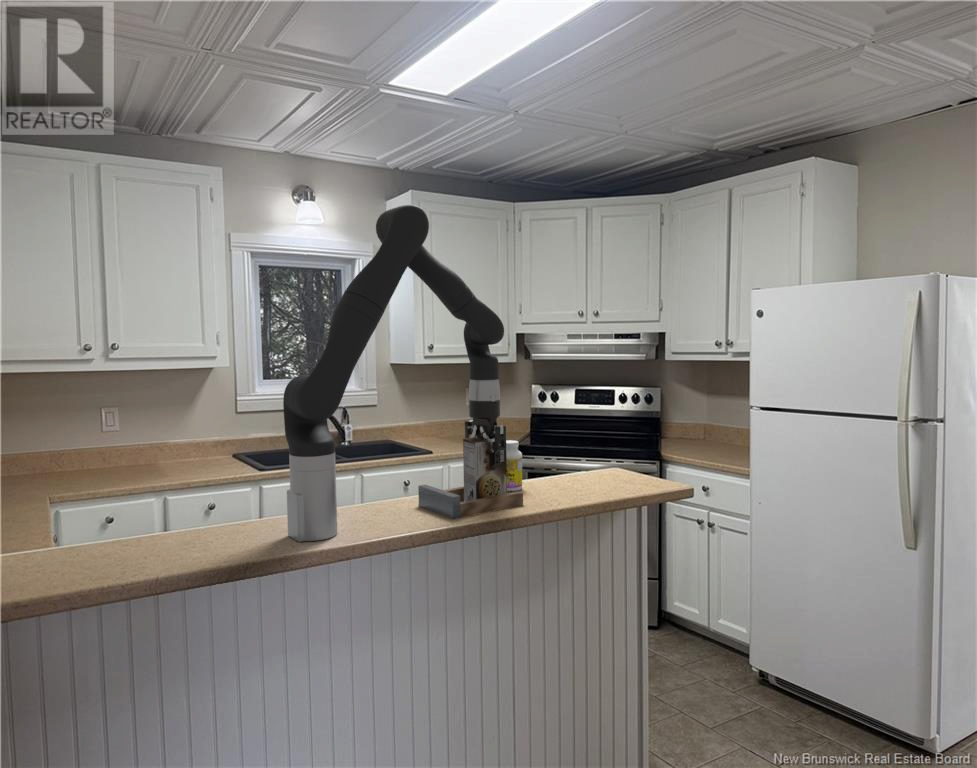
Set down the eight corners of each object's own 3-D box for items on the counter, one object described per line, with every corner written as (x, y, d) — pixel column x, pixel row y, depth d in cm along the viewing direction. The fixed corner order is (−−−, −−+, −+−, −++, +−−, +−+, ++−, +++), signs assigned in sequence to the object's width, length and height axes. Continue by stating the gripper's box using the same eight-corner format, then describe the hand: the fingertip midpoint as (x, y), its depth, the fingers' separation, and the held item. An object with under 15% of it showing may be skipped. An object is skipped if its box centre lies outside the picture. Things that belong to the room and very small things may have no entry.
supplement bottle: (493, 490, 182) (492, 442, 181) (504, 485, 188) (503, 439, 187) (515, 493, 179) (515, 444, 178) (526, 488, 184) (526, 440, 183)
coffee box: (494, 498, 173) (493, 434, 172) (508, 503, 168) (507, 438, 167) (462, 502, 169) (462, 437, 168) (475, 508, 163) (475, 441, 162)
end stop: (453, 519, 154) (452, 497, 153) (418, 506, 166) (418, 485, 165) (460, 517, 155) (460, 495, 154) (425, 504, 167) (425, 484, 166)
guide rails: (460, 517, 155) (459, 504, 155) (426, 504, 167) (426, 492, 166) (523, 504, 166) (523, 492, 166) (487, 493, 178) (487, 482, 177)
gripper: (455, 396, 170) (456, 462, 171) (489, 401, 158) (490, 471, 160) (479, 395, 174) (480, 459, 176) (515, 399, 163) (515, 467, 164)
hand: (485, 465), depth 168 cm, fingers open, 7 cm apart
